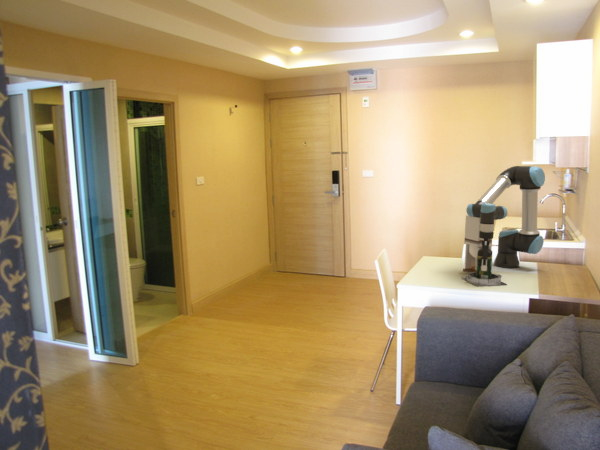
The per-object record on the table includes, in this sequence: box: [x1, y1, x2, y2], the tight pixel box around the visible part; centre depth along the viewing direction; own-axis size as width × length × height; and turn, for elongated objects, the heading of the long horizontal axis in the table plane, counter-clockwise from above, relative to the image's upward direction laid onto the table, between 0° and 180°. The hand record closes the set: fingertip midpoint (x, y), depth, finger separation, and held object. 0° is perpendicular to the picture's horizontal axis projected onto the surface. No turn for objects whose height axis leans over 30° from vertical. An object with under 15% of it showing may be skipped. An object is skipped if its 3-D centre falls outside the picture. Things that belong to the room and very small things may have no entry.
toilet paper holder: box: [462, 214, 493, 274], centre depth 303 cm, size 11×11×35 cm
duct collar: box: [461, 272, 508, 287], centre depth 285 cm, size 21×18×4 cm
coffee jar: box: [476, 249, 493, 279], centre depth 284 cm, size 10×8×19 cm
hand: (483, 268), depth 284 cm, fingers open, 13 cm apart
